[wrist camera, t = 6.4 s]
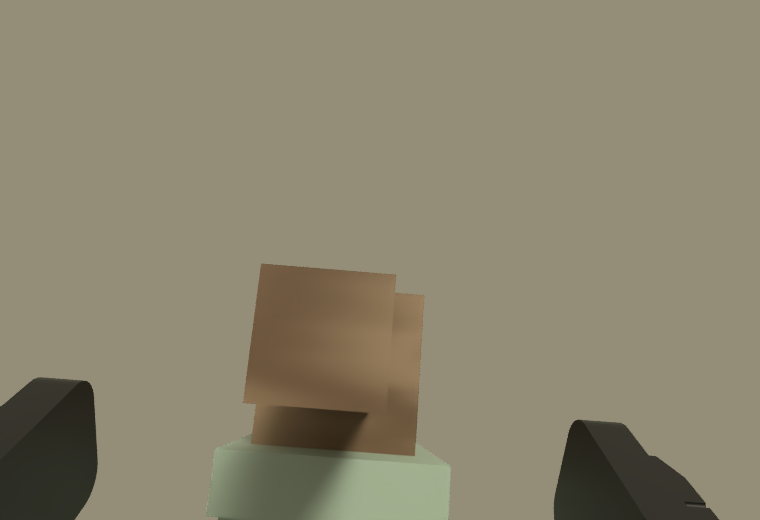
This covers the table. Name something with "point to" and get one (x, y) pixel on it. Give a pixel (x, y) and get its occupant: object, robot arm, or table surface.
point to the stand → (325, 484)
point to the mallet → (334, 361)
